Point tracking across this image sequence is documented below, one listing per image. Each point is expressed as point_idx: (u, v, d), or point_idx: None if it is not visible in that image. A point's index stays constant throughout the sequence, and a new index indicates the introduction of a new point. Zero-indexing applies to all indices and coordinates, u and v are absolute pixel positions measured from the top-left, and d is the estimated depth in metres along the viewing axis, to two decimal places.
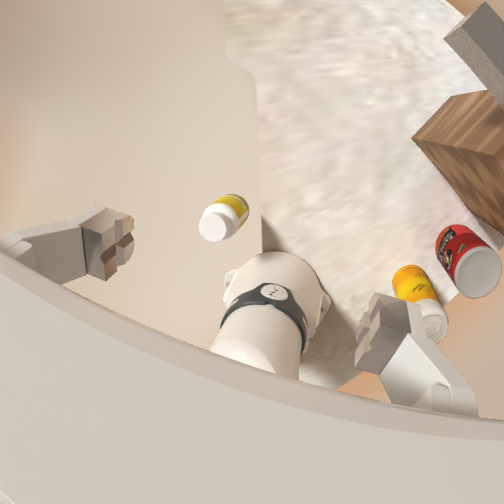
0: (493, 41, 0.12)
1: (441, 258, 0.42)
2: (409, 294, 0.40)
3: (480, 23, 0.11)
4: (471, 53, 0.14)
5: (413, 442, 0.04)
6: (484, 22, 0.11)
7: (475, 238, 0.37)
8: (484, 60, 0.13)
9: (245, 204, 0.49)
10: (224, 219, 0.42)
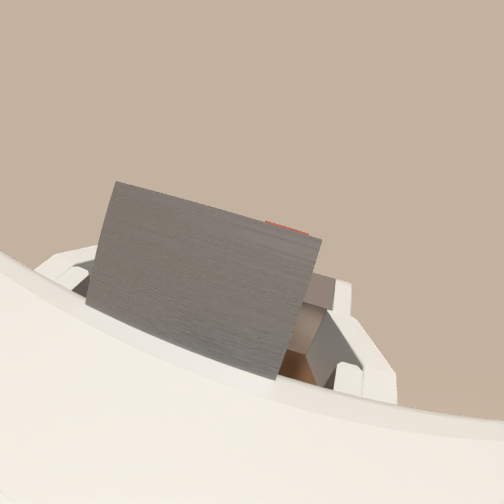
0: None
1: None
2: None
3: None
4: None
5: (413, 442, 0.04)
6: None
7: None
8: None
9: None
10: None
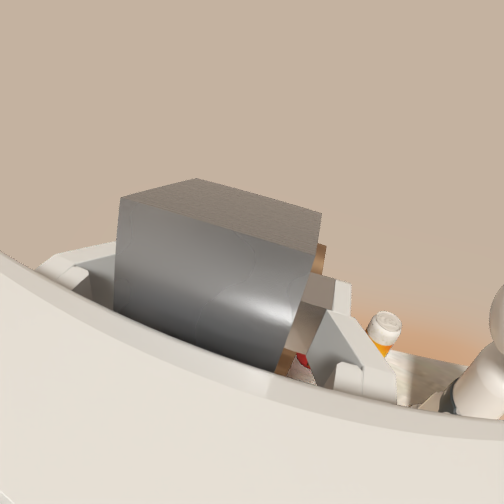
0: None
1: None
2: None
3: None
4: None
5: (413, 442, 0.04)
6: None
7: None
8: None
9: None
10: None
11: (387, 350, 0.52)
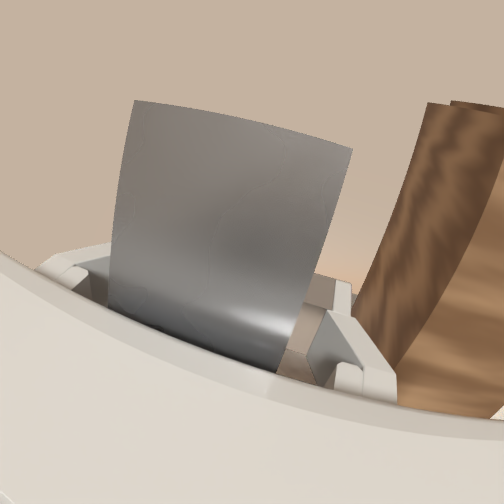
0: None
1: None
2: None
3: None
4: None
5: (413, 442, 0.04)
6: None
7: None
8: None
9: None
10: None
11: None
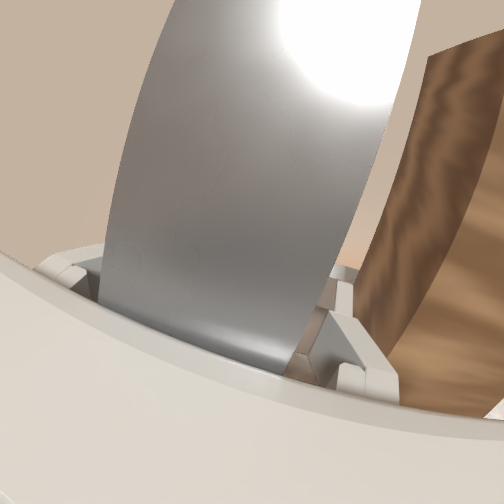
0: None
1: None
2: None
3: None
4: None
5: (413, 442, 0.04)
6: None
7: None
8: None
9: None
10: None
11: None
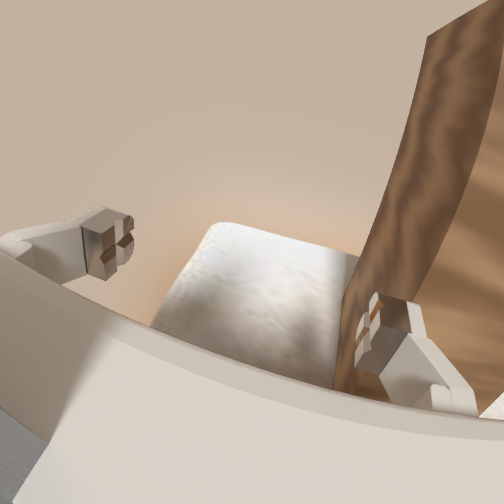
0: None
1: None
2: None
3: None
4: None
5: (413, 442, 0.04)
6: None
7: None
8: None
9: None
10: None
11: None
